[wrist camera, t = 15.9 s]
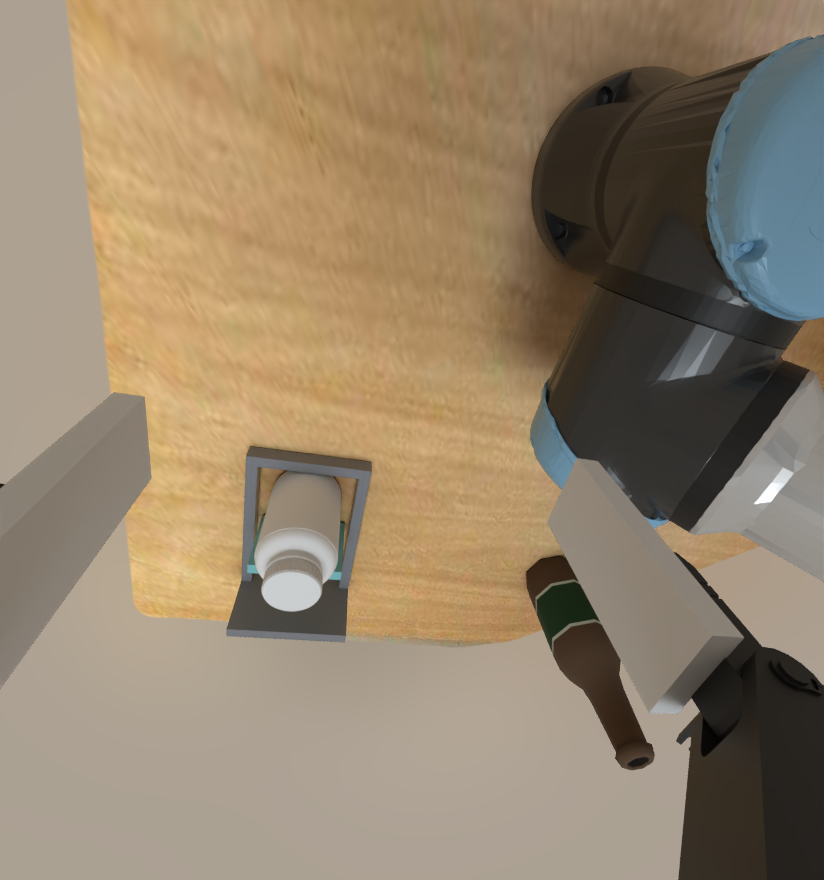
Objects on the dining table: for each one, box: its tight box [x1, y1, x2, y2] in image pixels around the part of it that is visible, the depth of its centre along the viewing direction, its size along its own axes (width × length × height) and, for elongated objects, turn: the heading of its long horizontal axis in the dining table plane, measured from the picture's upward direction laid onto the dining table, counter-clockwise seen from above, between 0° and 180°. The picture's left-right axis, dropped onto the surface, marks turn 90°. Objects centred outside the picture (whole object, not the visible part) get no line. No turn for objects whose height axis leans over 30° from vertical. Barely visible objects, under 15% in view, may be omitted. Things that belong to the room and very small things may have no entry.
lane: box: [227, 446, 372, 642], centre depth 51 cm, size 13×20×9 cm
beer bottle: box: [527, 556, 654, 770], centre depth 53 cm, size 8×8×24 cm
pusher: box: [247, 515, 345, 580], centre depth 51 cm, size 10×1×8 cm, turn 78°
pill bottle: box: [254, 471, 341, 611], centre depth 46 cm, size 8×8×15 cm
